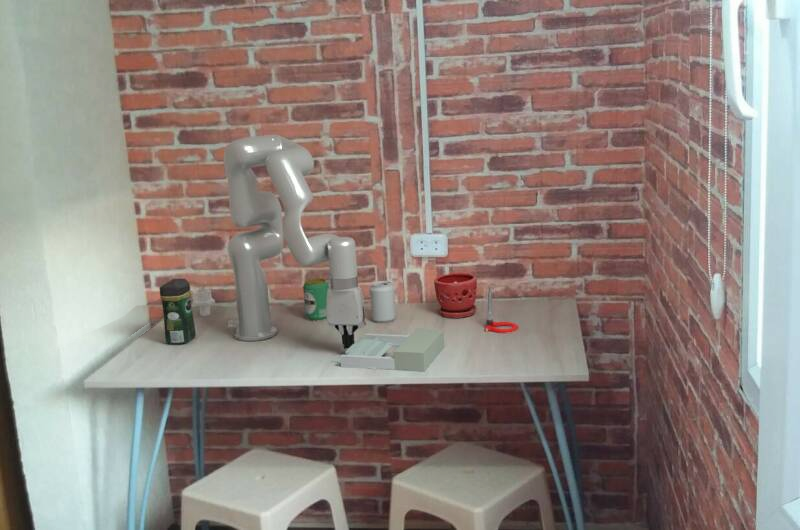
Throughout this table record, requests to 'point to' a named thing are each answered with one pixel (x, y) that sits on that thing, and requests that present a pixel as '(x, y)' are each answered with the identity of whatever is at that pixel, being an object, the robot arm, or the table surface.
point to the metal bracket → (366, 349)
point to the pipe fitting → (203, 301)
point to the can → (382, 302)
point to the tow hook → (491, 323)
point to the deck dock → (402, 351)
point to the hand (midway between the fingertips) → (348, 347)
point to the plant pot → (456, 294)
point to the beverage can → (315, 298)
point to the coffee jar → (177, 311)
